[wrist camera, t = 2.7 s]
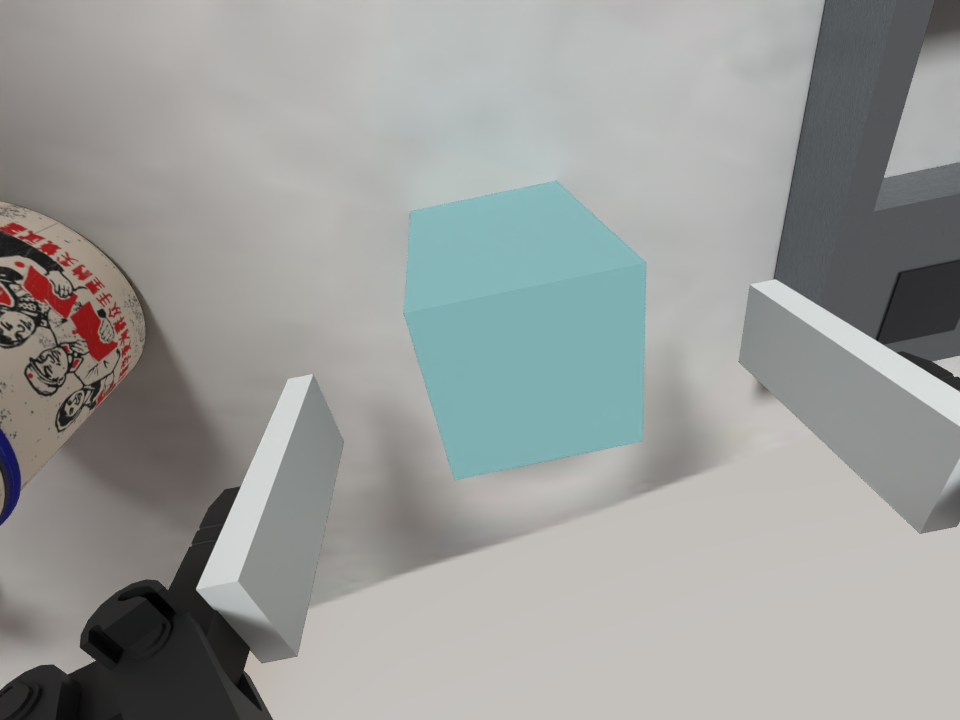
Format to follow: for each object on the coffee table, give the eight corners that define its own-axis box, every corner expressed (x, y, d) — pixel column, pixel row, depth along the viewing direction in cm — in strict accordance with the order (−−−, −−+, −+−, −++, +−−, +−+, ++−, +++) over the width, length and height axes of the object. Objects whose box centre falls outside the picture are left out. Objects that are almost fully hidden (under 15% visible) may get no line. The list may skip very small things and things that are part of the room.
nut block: (409, 211, 19) (401, 313, 11) (557, 180, 19) (648, 262, 11) (441, 337, 22) (452, 480, 15) (568, 310, 22) (644, 441, 15)
